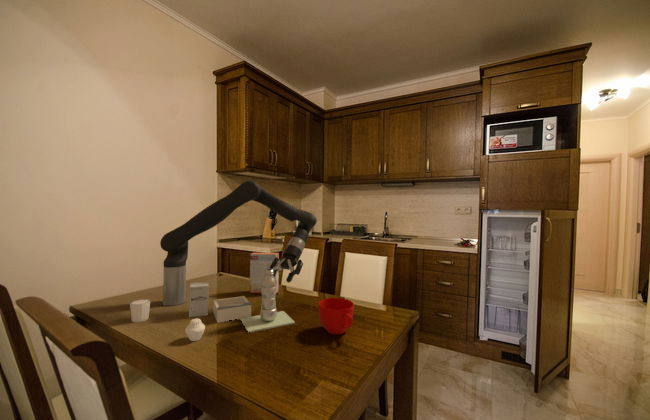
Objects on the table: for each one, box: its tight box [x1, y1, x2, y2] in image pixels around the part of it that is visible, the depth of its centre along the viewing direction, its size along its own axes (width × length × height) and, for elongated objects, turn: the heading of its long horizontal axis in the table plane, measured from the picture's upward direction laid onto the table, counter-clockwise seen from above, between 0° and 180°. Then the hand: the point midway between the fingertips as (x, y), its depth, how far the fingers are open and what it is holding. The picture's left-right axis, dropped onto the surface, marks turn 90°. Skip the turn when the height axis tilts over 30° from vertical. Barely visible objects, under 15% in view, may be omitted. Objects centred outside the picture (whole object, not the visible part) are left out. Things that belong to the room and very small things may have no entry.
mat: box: [239, 310, 296, 334], centre depth 109 cm, size 18×13×1 cm
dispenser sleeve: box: [212, 295, 252, 324], centre depth 116 cm, size 13×13×6 cm
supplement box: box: [188, 281, 210, 319], centre depth 117 cm, size 7×7×13 cm
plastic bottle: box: [259, 268, 278, 321], centre depth 109 cm, size 6×7×20 cm
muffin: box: [184, 317, 206, 342], centre depth 94 cm, size 6×6×7 cm
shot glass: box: [129, 298, 151, 323], centre depth 110 cm, size 7×7×7 cm
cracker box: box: [249, 252, 280, 295], centre depth 147 cm, size 14×6×21 cm, turn 84°
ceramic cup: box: [318, 297, 355, 335], centre depth 100 cm, size 13×17×10 cm
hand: (279, 280), depth 116 cm, fingers open, 8 cm apart
